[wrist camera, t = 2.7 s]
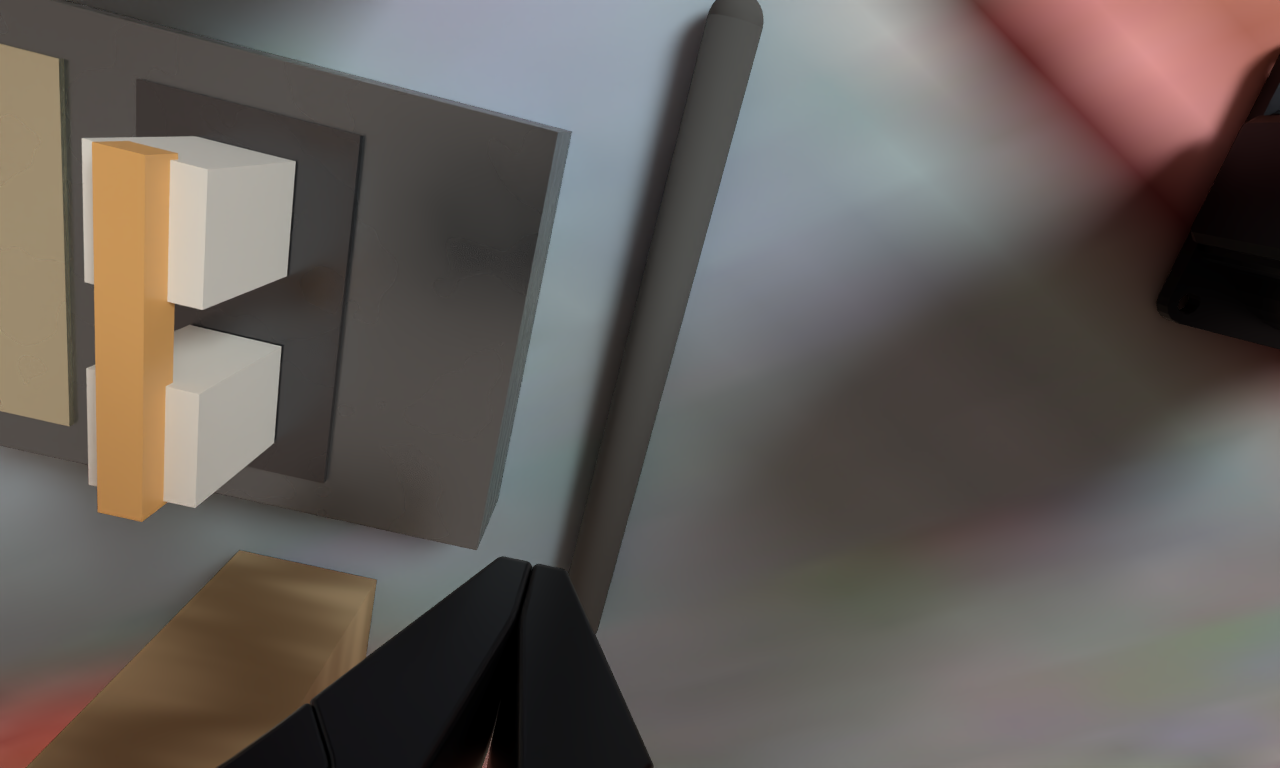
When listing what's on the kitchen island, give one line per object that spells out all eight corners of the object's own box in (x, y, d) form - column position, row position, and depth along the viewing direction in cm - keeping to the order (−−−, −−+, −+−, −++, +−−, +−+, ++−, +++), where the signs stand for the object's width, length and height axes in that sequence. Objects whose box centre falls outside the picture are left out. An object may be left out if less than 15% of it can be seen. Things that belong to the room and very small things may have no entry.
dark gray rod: (766, 4, 16) (774, -6, 15) (595, 630, 21) (592, 658, 20) (713, -11, 16) (717, -22, 14) (555, 621, 21) (550, 649, 20)
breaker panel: (571, 131, 17) (557, 132, 14) (497, 500, 20) (475, 553, 17) (44, -5, 16) (-70, -30, 13) (58, 401, 19) (-31, 442, 17)
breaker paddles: (296, 156, 14) (185, 164, 11) (273, 447, 16) (175, 529, 13) (195, 131, 14) (51, 131, 11) (186, 427, 16) (64, 504, 13)
